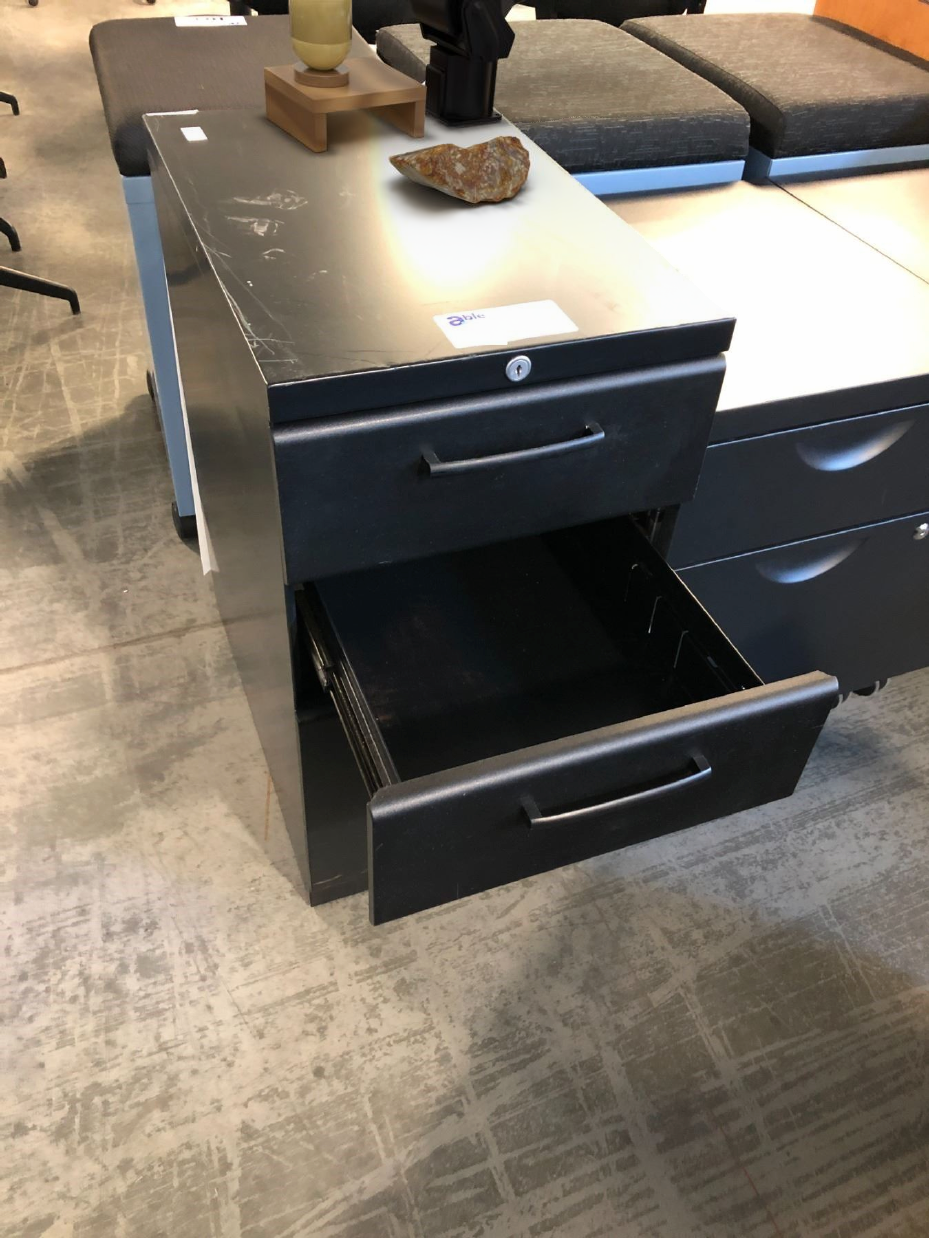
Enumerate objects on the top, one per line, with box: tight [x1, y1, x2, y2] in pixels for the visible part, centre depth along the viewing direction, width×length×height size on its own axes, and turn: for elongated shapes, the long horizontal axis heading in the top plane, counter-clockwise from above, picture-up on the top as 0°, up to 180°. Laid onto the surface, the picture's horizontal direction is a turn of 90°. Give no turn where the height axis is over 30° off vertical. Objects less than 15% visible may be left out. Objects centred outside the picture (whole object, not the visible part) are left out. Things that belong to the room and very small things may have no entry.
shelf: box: [263, 56, 427, 153], centre depth 93 cm, size 12×10×4 cm
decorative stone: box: [388, 135, 531, 204], centre depth 85 cm, size 10×4×15 cm
